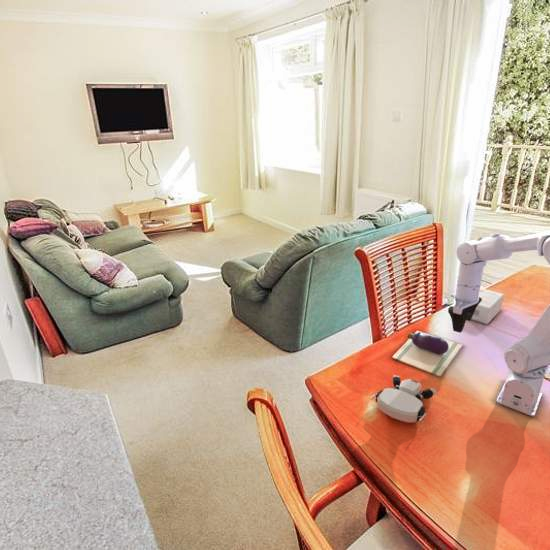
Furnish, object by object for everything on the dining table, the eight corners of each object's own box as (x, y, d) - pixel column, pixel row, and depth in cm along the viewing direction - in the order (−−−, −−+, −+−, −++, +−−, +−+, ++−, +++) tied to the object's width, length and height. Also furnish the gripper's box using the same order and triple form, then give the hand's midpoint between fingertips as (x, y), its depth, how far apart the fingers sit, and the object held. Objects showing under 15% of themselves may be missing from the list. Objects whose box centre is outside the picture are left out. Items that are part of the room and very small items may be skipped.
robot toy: (391, 382, 102) (367, 412, 92) (393, 368, 101) (368, 397, 90) (438, 400, 95) (417, 435, 84) (440, 386, 93) (419, 419, 83)
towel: (440, 376, 102) (440, 375, 102) (391, 358, 111) (392, 356, 111) (462, 346, 114) (462, 345, 114) (417, 331, 123) (417, 330, 123)
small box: (486, 325, 124) (501, 310, 131) (489, 308, 121) (504, 294, 129) (461, 316, 129) (477, 303, 137) (464, 300, 127) (480, 287, 134)
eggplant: (447, 356, 111) (452, 341, 110) (443, 356, 107) (448, 341, 107) (408, 342, 118) (413, 328, 118) (403, 342, 115) (408, 328, 114)
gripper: (462, 270, 109) (456, 311, 115) (444, 288, 100) (438, 331, 105) (488, 276, 105) (481, 318, 110) (472, 295, 95) (464, 340, 101)
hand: (462, 325), depth 107 cm, fingers open, 7 cm apart
